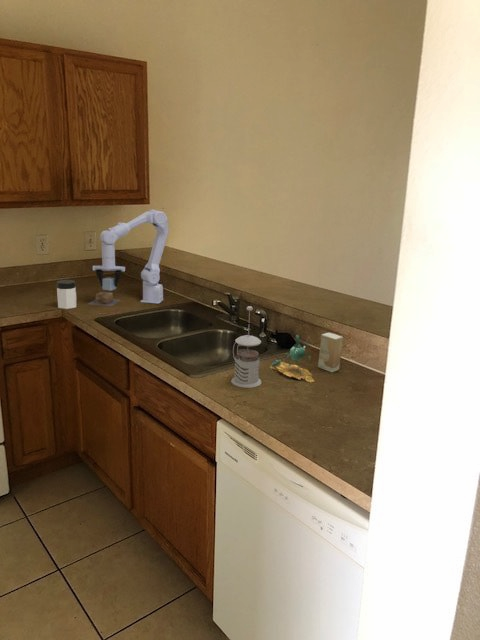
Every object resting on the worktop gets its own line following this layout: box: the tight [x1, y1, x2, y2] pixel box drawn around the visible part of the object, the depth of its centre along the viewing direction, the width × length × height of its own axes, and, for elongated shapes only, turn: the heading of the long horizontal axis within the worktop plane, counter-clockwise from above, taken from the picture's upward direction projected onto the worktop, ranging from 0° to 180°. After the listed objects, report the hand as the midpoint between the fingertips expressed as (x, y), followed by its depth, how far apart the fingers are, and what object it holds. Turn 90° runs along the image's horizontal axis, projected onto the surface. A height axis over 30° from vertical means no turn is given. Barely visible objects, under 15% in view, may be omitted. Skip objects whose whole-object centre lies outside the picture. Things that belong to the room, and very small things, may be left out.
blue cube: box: [101, 276, 117, 292], centre depth 245 cm, size 4×4×5 cm
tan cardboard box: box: [95, 296, 114, 304], centre depth 252 cm, size 6×6×2 cm
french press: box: [230, 305, 262, 389], centre depth 165 cm, size 10×12×25 cm
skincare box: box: [317, 332, 344, 373], centre depth 180 cm, size 6×4×12 cm
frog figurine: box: [269, 334, 315, 383], centre depth 174 cm, size 10×18×15 cm, turn 41°
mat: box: [87, 298, 121, 307], centre depth 252 cm, size 12×12×1 cm
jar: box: [56, 279, 77, 310], centre depth 241 cm, size 9×8×12 cm
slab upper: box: [95, 291, 114, 300], centre depth 251 cm, size 6×6×2 cm
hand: (109, 285), depth 245 cm, fingers closed on blue cube, 6 cm apart
